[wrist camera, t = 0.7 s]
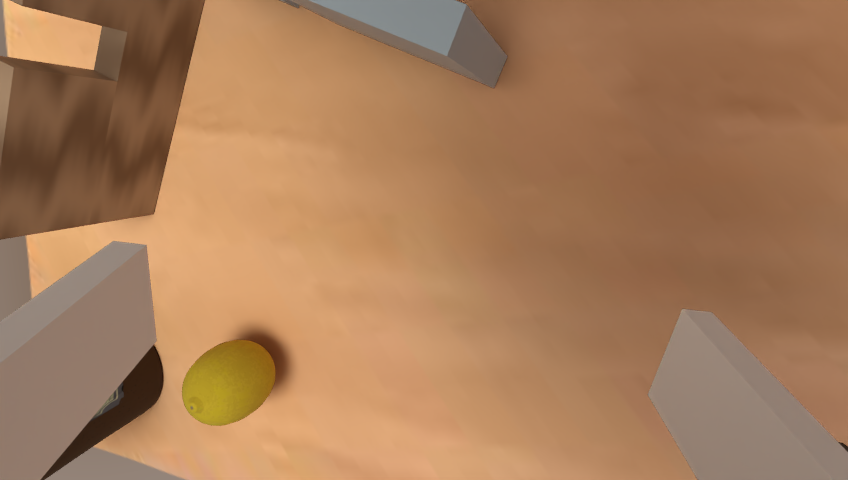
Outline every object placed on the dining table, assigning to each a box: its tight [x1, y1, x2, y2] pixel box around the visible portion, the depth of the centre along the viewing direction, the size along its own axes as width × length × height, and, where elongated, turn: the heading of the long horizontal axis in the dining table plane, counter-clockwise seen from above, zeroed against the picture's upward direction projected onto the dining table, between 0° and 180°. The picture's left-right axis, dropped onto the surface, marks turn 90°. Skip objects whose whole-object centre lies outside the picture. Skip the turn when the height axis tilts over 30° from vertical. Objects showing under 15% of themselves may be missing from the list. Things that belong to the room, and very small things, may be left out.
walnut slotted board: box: [0, 0, 204, 240], centre depth 32 cm, size 24×2×12 cm, turn 157°
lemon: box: [182, 340, 276, 426], centre depth 36 cm, size 6×6×8 cm
